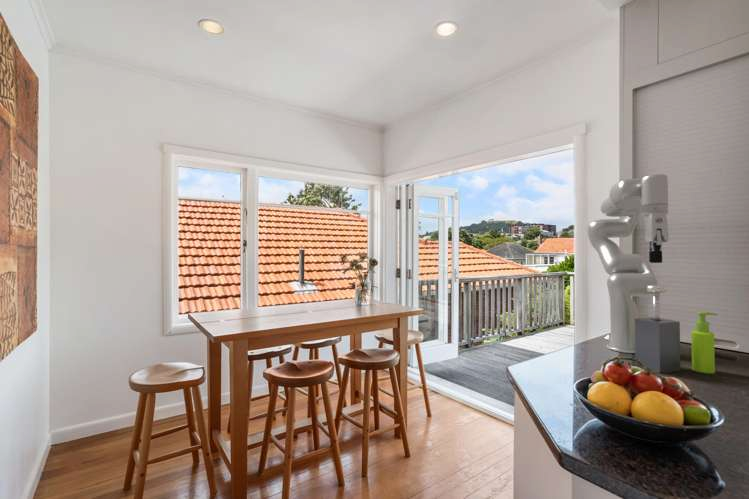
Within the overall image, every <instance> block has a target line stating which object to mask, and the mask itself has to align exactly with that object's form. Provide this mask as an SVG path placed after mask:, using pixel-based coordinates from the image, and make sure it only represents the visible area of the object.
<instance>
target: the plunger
mask: <svg viewBox="0 0 749 499" xmlns="http://www.w3.org/2000/svg"><path fill="white" fill-rule="evenodd" d="M647 292H653V296H652V311H653V312H652V313H653V316H652V317H653V320H654V321H660V318H661V316H660V315H661V314H660V313H661V312H660V309H661V308H660V301H661V300H660V294H661V293H666V286H665V285H659V284H658V285H647Z"/></svg>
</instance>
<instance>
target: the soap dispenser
mask: <svg viewBox="0 0 749 499" xmlns="http://www.w3.org/2000/svg"><path fill="white" fill-rule="evenodd" d="M695 314H696V315H698V320H697V321H695V328H696V329H695V330H691V370H693V371H695V372H697V373H703V374H716V366H715V365H716V362H715V361H716V360H715V359H716V358H715V357H716V356H715V353H716V352H715V351H716V350H715V333H714V332H711V331H710V322H709V321H706V320H707V318H706V317H707V316H706V315H708V316H709V315H712V316H718V313H714V312H711V311H696V312H695Z"/></svg>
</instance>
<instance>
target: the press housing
mask: <svg viewBox="0 0 749 499" xmlns="http://www.w3.org/2000/svg"><path fill="white" fill-rule="evenodd" d="M634 359H638V360H640V361H642V362H643V363H644V364H645V365H646V366H647V367H648V368H650V370H649V371H652V370H654V371H653V372H655V371H660V372H665V373H672V371H673V372H680V371H681V324H680V321H679V320H678V321H677V320H672V319H667V318H662V317H660V321H654V320H653V316H651V317H641V318H640V317H638V318H636V319H635V353H634ZM634 365H635V366H636V365H637V363H635V364H634ZM651 369H652V370H651Z"/></svg>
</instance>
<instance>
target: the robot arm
mask: <svg viewBox="0 0 749 499" xmlns="http://www.w3.org/2000/svg"><path fill="white" fill-rule="evenodd" d="M600 212H601V213H602V214H603V215H604V216H606V217H613V218H607V219H605V218H602V219H596V220H593V221H591V222H590V223H589V224H588V226H587V237H588V240H589V242H590V244H591V246H592V247H593V248H594V250H595V251H596V252H597V254H598V257H599V259H600V262H601V265H602V266H603V268H604V271H605V273H606V274H608V275H609V277H608V278H607V280H606V285H607V290H608V295H609V296H608V297H609V306H610V307H609V310H610V313H609V314H610V316H609V317H610V335H609V334H607V335H606V336H604V340H605V341H608V343H606V348H607V349H608V350H610V351H612V352H613V351H614V352H618V353H623V354H624V353H626V354H635V319H636V318H639V309H638V305H637V303H636V302H635V301H634V300H633V299H632V297H653V292H647V285H659V283H658V279H657V277H656V275H655V273H654V272H653V269H652V267H651V265H650V263H651V264H653V263H654V264H655V263H656V264H661V263H663V249H662V248H663V243H667V242H668V241H669V229H668V228H669V226H668V217H667V215H669V178H668V176H667V175H666V174H664V173H657V174H655V173H654V174H649V175H648V174H647V175H645V176H643V177H642V178H641V177H640V178H626V179H621V180H619V181H617V182H615V183H614V184H613V185H612V186H611V188H610V190H609V197H607V198H606V199H605V200H604V201H603V202H602V203H601V205H600ZM640 215H641V216H644V239H645V242H646V243H648V260H647V258H646V257H644V256H643V255H641V254H640V253H639V254H638V253H623V252H622V250H621V249H620V246H619V245H618V244H617V243H616V242H614V241H613V240H611V239H609V238H627V237H630V236H631V235H632V234H633V233H634V230H635V228H636V225H637V222H638V220H639V217H640ZM615 217H623V218H615Z"/></svg>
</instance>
